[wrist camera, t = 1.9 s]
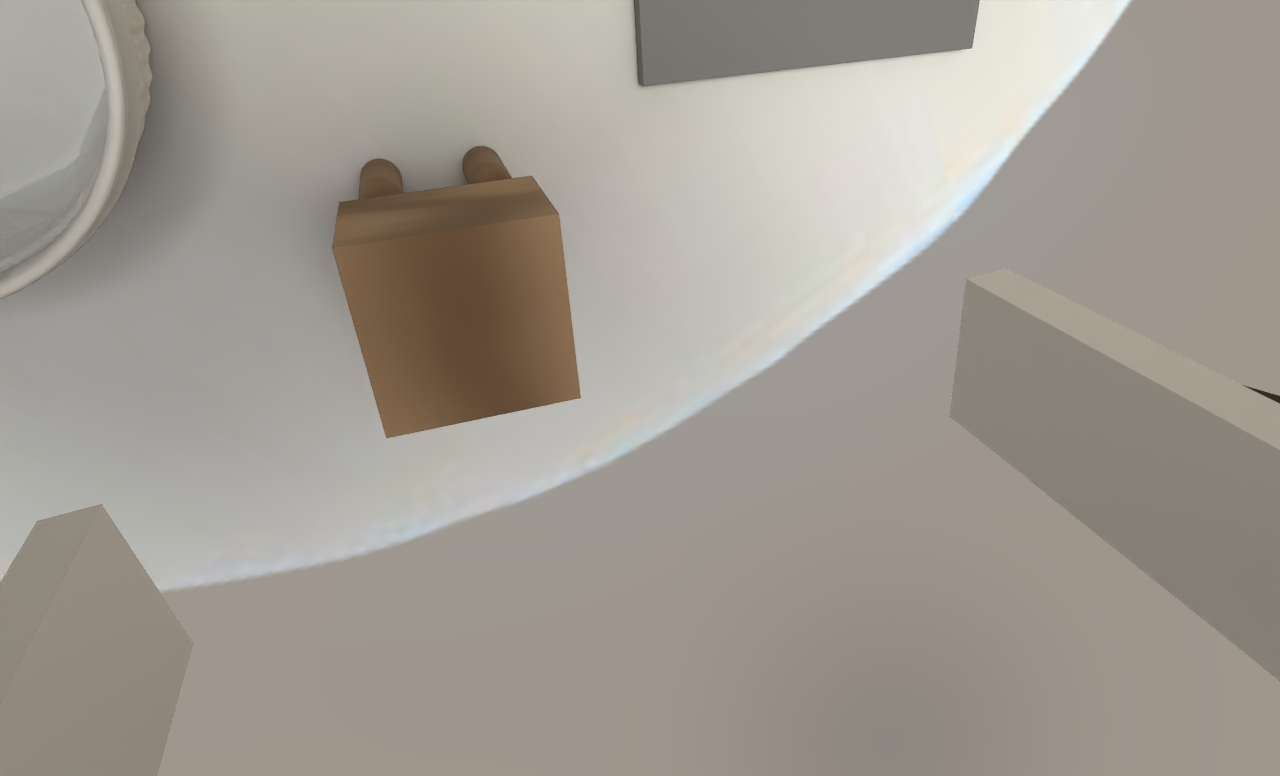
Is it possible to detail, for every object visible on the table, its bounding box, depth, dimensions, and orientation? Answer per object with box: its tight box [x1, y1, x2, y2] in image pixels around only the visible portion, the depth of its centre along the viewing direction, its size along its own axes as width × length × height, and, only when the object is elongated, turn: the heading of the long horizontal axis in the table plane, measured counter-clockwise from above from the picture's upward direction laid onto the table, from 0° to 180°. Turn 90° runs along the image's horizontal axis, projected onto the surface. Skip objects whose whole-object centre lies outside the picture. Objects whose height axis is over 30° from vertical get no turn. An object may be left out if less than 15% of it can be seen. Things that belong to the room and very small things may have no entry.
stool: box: [332, 146, 581, 438], centre depth 24 cm, size 6×6×10 cm
